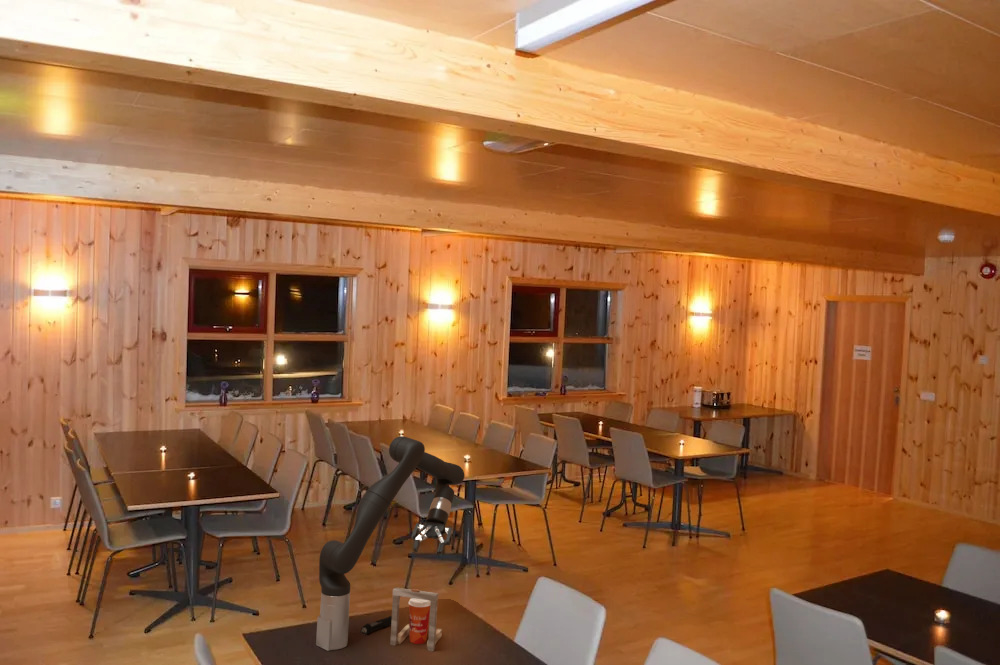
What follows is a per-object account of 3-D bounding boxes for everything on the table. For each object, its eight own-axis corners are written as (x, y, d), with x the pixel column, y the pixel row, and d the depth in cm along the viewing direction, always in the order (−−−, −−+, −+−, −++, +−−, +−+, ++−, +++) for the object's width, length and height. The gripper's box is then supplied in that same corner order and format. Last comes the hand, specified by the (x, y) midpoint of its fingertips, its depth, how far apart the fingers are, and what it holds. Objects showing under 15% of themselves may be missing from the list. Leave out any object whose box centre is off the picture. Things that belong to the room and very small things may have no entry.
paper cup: (402, 643, 261) (404, 601, 260) (411, 634, 268) (414, 593, 268) (424, 647, 258) (426, 604, 258) (433, 638, 266) (435, 597, 265)
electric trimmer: (399, 624, 277) (400, 615, 277) (367, 636, 265) (367, 626, 265) (392, 621, 280) (392, 612, 280) (359, 633, 267) (360, 623, 267)
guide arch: (403, 630, 271) (406, 576, 271) (445, 637, 267) (448, 581, 267) (389, 645, 258) (392, 587, 258) (432, 652, 255) (435, 593, 255)
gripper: (418, 505, 289) (405, 544, 278) (455, 509, 285) (444, 549, 275) (422, 516, 294) (410, 555, 283) (459, 520, 291) (448, 560, 280)
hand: (427, 552), depth 279 cm, fingers open, 8 cm apart
